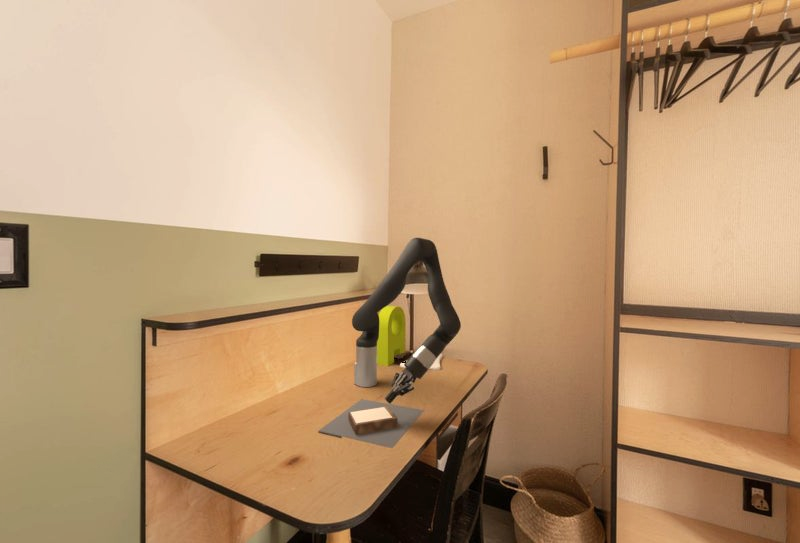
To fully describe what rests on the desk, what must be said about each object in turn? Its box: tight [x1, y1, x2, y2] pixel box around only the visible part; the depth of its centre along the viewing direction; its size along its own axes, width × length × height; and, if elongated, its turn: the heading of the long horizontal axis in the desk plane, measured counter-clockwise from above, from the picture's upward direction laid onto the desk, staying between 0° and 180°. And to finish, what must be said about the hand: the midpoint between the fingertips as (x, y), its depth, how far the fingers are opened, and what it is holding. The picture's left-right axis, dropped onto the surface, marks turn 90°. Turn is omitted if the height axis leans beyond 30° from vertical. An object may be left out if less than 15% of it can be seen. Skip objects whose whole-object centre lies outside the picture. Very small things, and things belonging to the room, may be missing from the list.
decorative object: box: [377, 305, 407, 367], centre depth 192 cm, size 20×7×30 cm, turn 152°
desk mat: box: [317, 398, 425, 449], centre depth 119 cm, size 26×28×1 cm
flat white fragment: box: [399, 353, 443, 371], centre depth 190 cm, size 21×4×25 cm
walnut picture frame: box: [348, 406, 397, 435], centre depth 116 cm, size 3×10×14 cm
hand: (387, 401), depth 118 cm, fingers closed
